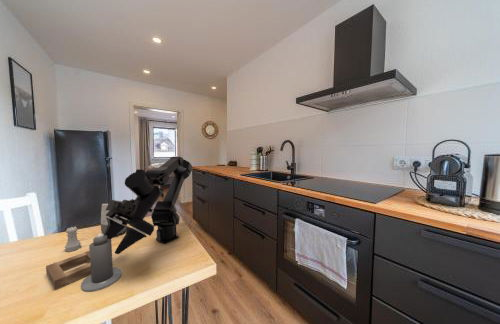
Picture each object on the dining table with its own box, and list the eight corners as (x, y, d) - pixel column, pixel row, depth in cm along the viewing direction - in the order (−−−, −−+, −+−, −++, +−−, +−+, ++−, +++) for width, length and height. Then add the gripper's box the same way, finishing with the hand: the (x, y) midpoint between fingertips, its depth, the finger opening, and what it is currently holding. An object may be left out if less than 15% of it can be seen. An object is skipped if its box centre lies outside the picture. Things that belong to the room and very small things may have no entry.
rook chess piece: (71, 252, 66) (69, 231, 66) (61, 251, 67) (59, 230, 66) (84, 246, 71) (83, 225, 70) (75, 245, 71) (73, 225, 71)
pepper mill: (109, 269, 56) (106, 228, 55) (116, 275, 53) (113, 232, 52) (89, 278, 52) (86, 234, 51) (95, 285, 49) (92, 239, 48)
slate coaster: (114, 265, 59) (114, 263, 59) (127, 276, 54) (127, 274, 54) (76, 282, 51) (76, 280, 51) (87, 297, 46) (87, 294, 46)
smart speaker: (132, 229, 85) (131, 199, 84) (113, 239, 76) (111, 205, 75) (116, 227, 87) (114, 198, 86) (95, 236, 78) (93, 204, 77)
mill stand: (93, 256, 64) (92, 249, 64) (105, 267, 58) (105, 260, 57) (46, 274, 55) (45, 266, 55) (55, 290, 49) (54, 280, 48)
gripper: (110, 185, 62) (69, 230, 53) (141, 192, 52) (96, 248, 44) (136, 202, 69) (103, 244, 61) (168, 211, 59) (133, 262, 51)
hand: (108, 249), depth 54 cm, fingers open, 9 cm apart
